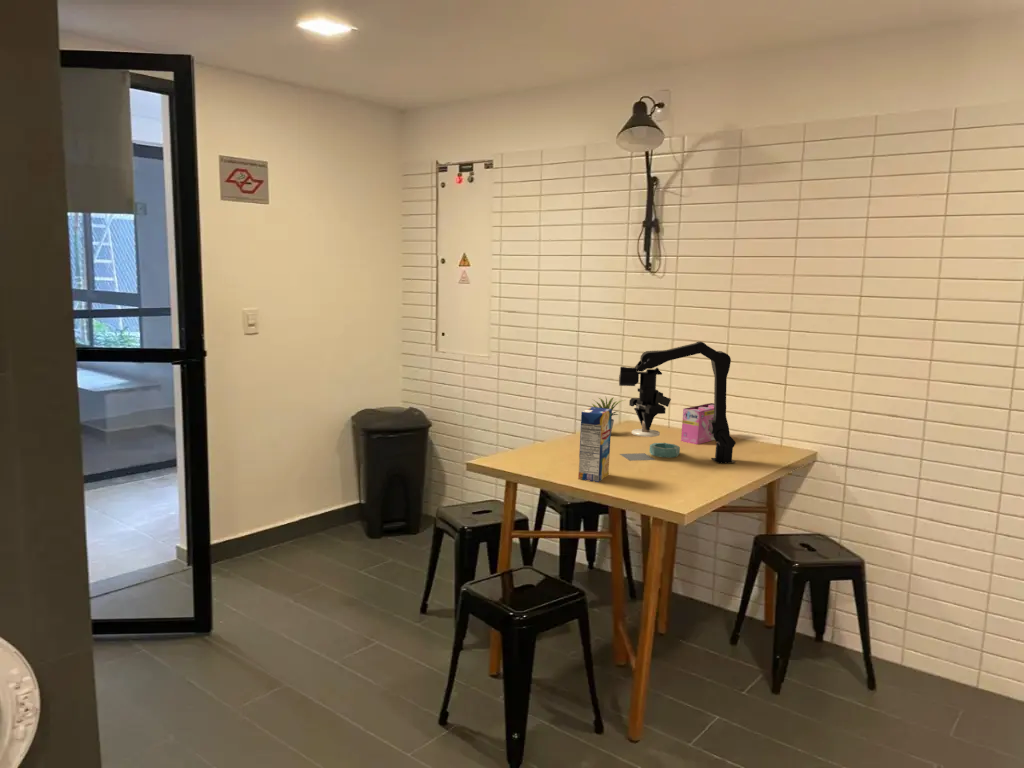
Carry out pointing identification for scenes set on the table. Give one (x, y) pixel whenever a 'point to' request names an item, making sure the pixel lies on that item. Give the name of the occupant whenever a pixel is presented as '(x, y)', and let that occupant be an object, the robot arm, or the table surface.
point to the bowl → (664, 450)
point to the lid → (645, 432)
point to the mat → (637, 456)
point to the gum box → (697, 424)
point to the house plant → (608, 407)
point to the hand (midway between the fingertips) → (645, 429)
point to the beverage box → (595, 444)
